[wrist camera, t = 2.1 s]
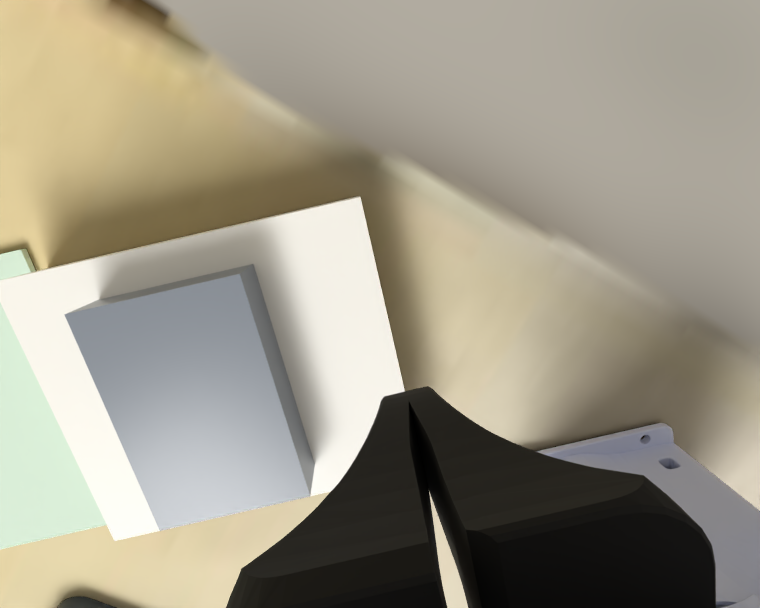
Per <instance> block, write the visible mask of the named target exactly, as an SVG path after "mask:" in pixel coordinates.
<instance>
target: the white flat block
mask: <svg viewBox="0 0 760 608" xmlns="http://www.w3.org/2000/svg"><path fill="white" fill-rule="evenodd" d="M250 264H254V267H255V271H256V274H257V277H258V280H259V284H260V287H261V290H262V293H263V297H264V300H265V303H266V306H267V310H268V313H269V316H270V320H271V323H272V326H273V329H274V333H275V336H276V339H277V342H278V346H279V349H280V352H281V355H282V359H283V362H284V365H285V368H286V372H287V375H288V378H289V381H290V385H291V388H292V391H293V395H294V398H295V401H296V404H297V408H298V411H299V414H300V417H301V421H302V424H303V427H304V430H305V434H306V437H307V440H308V443H309V447H310V450H311V453H312V457H313V460H314V463H315V467H314V474H313V481H312V488H311V495H310V496H313V495H317V494H322V493H326V492H330V491H332V490H333V489H334V488H335V487H336V486H337V484H338V483H339V482H340V481H341V479H342V478H343V476H344V475H345V474H346V472H347V471H348V469H349V468H350V466H351V465H352V463H353V461H354V460H355V458H356V456H357V455H358V453H359V451H360V449H361V447H362V446H363V444H364V442H365V440H366V438H367V436H368V434H369V432H370V429H371V427H372V425H373V423H374V420H375V418H376V415H377V412H378V409H379V406H380V402H381V400H382V399H383V397H384V396H388V395H392V394H397V393H401V392H405V390H404V385H403V381H402V376H401V372H400V368H399V363H398V359H397V355H396V350H395V346H394V341H393V337H392V333H391V328H390V324H389V320H388V315H387V311H386V307H385V302H384V298H383V293H382V289H381V285H380V280H379V276H378V272H377V267H376V263H375V258H374V254H373V250H372V245H371V241H370V237H369V232H368V228H367V223H366V219H365V215H364V210H363V206H362V202H361V197H360V196H357V197H352V198H348V199H344V200H339V201H335V202H331V203H326V204H322V205H318V206H313V207H309V208H305V209H300V210H296V211H292V212H288V213H283V214H279V215H275V216H270V217H266V218H262V219H257V220H253V221H249V222H244V223H240V224H236V225H232V226H227V227H223V228H219V229H214V230H210V231H206V232H201V233H197V234H193V235H188V236H184V237H180V238H175V239H171V240H167V241H163V242H158V243H154V244H150V245H145V246H141V247H137V248H132V249H128V250H124V251H119V252H115V253H111V254H106V255H102V256H98V257H94V258H89V259H85V260H81V261H76V262H72V263H68V264H63V265H59V266H55V267H50V268H46V269H42V270H38V271H34V272H31V273H27V274H23V275H19V276H15V277H11V278H7V279H3V280H0V303H1V305H2V307H3V309H4V311H5V313H6V316H7V318H8V320H9V322H10V324H11V326H12V328H13V330H14V332H15V334H16V336H17V339H18V341H19V343H20V345H21V347H22V349H23V351H24V353H25V355H26V357H27V359H28V361H29V364H30V366H31V368H32V370H33V372H34V374H35V376H36V378H37V380H38V382H39V384H40V387H41V389H42V391H43V393H44V395H45V397H46V399H47V401H48V403H49V405H50V407H51V409H52V412H53V414H54V416H55V418H56V420H57V422H58V424H59V426H60V428H61V430H62V432H63V434H64V437H65V439H66V441H67V443H68V445H69V447H70V449H71V451H72V453H73V455H74V457H75V460H76V462H77V464H78V466H79V468H80V470H81V472H82V474H83V476H84V478H85V480H86V482H87V485H88V487H89V489H90V491H91V493H92V495H93V497H94V499H95V501H96V503H97V505H98V508H99V510H100V512H101V514H102V516H103V518H104V520H105V522H106V524H107V526H108V528H109V530H110V533H111V535H112V537H113V539H114V541H117V540H121V539H126V538H130V537H134V536H139V535H143V534H148V533H152V532H156V531H160V530H159V528H158V526H157V524H156V521H155V519H154V517H153V515H152V512H151V510H150V508H149V505H148V503H147V501H146V499H145V496H144V494H143V492H142V490H141V487H140V485H139V483H138V481H137V478H136V476H135V474H134V471H133V469H132V467H131V465H130V462H129V460H128V458H127V456H126V453H125V451H124V449H123V447H122V444H121V442H120V440H119V437H118V435H117V433H116V431H115V428H114V426H113V424H112V422H111V419H110V417H109V415H108V412H107V410H106V408H105V406H104V403H103V401H102V399H101V397H100V394H99V392H98V390H97V388H96V385H95V383H94V381H93V378H92V376H91V374H90V372H89V369H88V367H87V365H86V363H85V360H84V358H83V356H82V354H81V351H80V349H79V347H78V344H77V342H76V340H75V338H74V335H73V333H72V331H71V329H70V326H69V324H68V322H67V320H66V317H65V315H64V314H67V313H69V312H71V311H74V310H76V309H78V308H80V307H83V306H85V305H87V304H90V303H92V302H94V301H97V300H99V299H104V298H108V297H112V296H117V295H121V294H125V293H130V292H134V291H138V290H143V289H147V288H151V287H155V286H160V285H164V284H168V283H173V282H177V281H181V280H186V279H190V278H194V277H199V276H203V275H207V274H212V273H216V272H220V271H225V270H229V269H233V268H238V267H242V266H246V265H250Z"/></svg>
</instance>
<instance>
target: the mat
mask: <svg viewBox="0 0 760 608" xmlns="http://www.w3.org/2000/svg"><path fill="white" fill-rule="evenodd" d="M34 271H36V270H35V268H34V266H33V263H32V261H31V259H30V257H29V254H28V252H27V250H26V249H21V250H16V251H12V252H8V253H3V254H0V280H3V279H7V278H11V277H15V276H19V275H23V274H27V273H31V272H34ZM104 525H107V524H106V522H105V520H104V518H103V516H102V514H101V512H100V510H99V508H98V505H97V503H96V501H95V499H94V497H93V495H92V493H91V491H90V489H89V487H88V485H87V482H86V480H85V478H84V476H83V474H82V472H81V470H80V468H79V466H78V464H77V462H76V460H75V457H74V455H73V453H72V451H71V449H70V447H69V445H68V443H67V441H66V439H65V437H64V434H63V432H62V430H61V428H60V426H59V424H58V422H57V420H56V418H55V416H54V414H53V412H52V409H51V407H50V405H49V403H48V401H47V399H46V397H45V395H44V393H43V391H42V389H41V387H40V384H39V382H38V380H37V378H36V376H35V374H34V372H33V370H32V368H31V366H30V364H29V361H28V359H27V357H26V355H25V353H24V351H23V349H22V347H21V345H20V343H19V341H18V339H17V336H16V334H15V332H14V330H13V328H12V326H11V324H10V322H9V320H8V318H7V316H6V313H5V311H4V309H3V307H2V305H1V303H0V549H4V548H8V547H13V546H17V545H22V544H26V543H30V542H35V541H39V540H43V539H48V538H52V537H56V536H61V535H65V534H69V533H74V532H78V531H82V530H87V529H91V528H95V527H100V526H104Z"/></svg>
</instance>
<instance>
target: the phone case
mask: <svg viewBox="0 0 760 608" xmlns="http://www.w3.org/2000/svg"><path fill="white" fill-rule="evenodd" d="M57 608H116V607H113V606H110V605H107V604H105V603H102V602H99V601H96V600H94V599H91V598H87V597H81V596H79V597H71V598H68V599H66V600H64V601H62V602H61V603H60V604H59V606H58V607H57Z"/></svg>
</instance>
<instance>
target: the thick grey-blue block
mask: <svg viewBox="0 0 760 608" xmlns="http://www.w3.org/2000/svg"><path fill="white" fill-rule="evenodd" d="M64 315H65V317H66V320H67V322H68V324H69V326H70V329H71V331H72V333H73V335H74V338H75V340H76V342H77V344H78V347H79V349H80V351H81V354H82V356H83V358H84V360H85V363H86V365H87V367H88V369H89V372H90V374H91V376H92V378H93V381H94V383H95V385H96V388H97V390H98V392H99V394H100V397H101V399H102V401H103V403H104V406H105V408H106V410H107V412H108V415H109V417H110V419H111V422H112V424H113V426H114V428H115V431H116V433H117V435H118V437H119V440H120V442H121V444H122V447H123V449H124V451H125V453H126V456H127V458H128V460H129V462H130V465H131V467H132V469H133V471H134V474H135V476H136V478H137V481H138V483H139V485H140V487H141V490H142V492H143V494H144V496H145V499H146V501H147V503H148V505H149V508H150V510H151V512H152V515H153V517H154V519H155V521H156V524H157V526H158V528H159V530H160V531H162V530H166V529H170V528H175V527H179V526H183V525H188V524H192V523H196V522H201V521H205V520H209V519H214V518H218V517H222V516H227V515H231V514H236V513H240V512H244V511H249V510H253V509H257V508H262V507H266V506H270V505H275V504H279V503H283V502H288V501H292V500H296V499H301V498H305V497H309V496H310V495H311V488H312V481H313V474H314V467H315V463H314V460H313V457H312V453H311V450H310V447H309V443H308V440H307V437H306V434H305V430H304V427H303V424H302V421H301V417H300V414H299V411H298V408H297V404H296V401H295V398H294V395H293V391H292V388H291V385H290V381H289V378H288V375H287V372H286V368H285V365H284V362H283V359H282V355H281V352H280V349H279V346H278V342H277V339H276V336H275V333H274V329H273V326H272V323H271V320H270V316H269V313H268V310H267V306H266V303H265V300H264V297H263V293H262V290H261V287H260V284H259V280H258V277H257V274H256V271H255V267H254V264H250V265H246V266H242V267H238V268H233V269H229V270H225V271H220V272H216V273H212V274H207V275H203V276H199V277H194V278H190V279H186V280H181V281H177V282H173V283H168V284H164V285H160V286H155V287H151V288H147V289H143V290H138V291H134V292H130V293H125V294H121V295H117V296H112V297H108V298H104V299H99V300H97V301H94V302H92V303H90V304H87V305H85V306H83V307H80V308H78V309H76V310H74V311H71V312H69V313H67V314H64Z"/></svg>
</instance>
